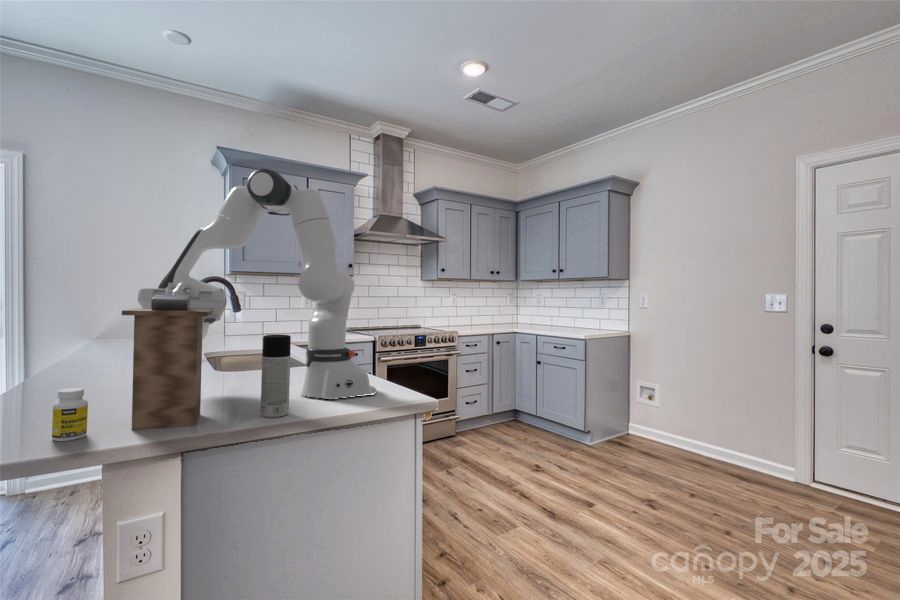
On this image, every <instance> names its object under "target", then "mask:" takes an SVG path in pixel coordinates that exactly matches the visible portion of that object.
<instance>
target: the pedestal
mask: <svg viewBox="0 0 900 600" xmlns="http://www.w3.org/2000/svg"><path fill="white" fill-rule="evenodd" d="M212 311H213V310H197V309H188V310H187V311H181V310H152V309H143V308H132V309H122V310H121V316H134V317H133V318H134V320H133V355H132V356H133V357H132V359H133V361H132V363H133V364H132V396H131V397H132V398H131V399H132V401H131V403H132V404H131V405H132V406H131V430H132V431H135V430H147V429H160V428H163V429H164V428H173V427H176V428H177V427H189V426H196V424H197V422H198V420H199V418H200V416H201V397H202V394H201V393H202V365H203V363H202V361H203V360H202V359H203V357H202V356H203V355H202V354H203V353H202V352H203V351H202V350H203V340H202V326H203V316H208V315H211V314H212Z"/></svg>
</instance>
